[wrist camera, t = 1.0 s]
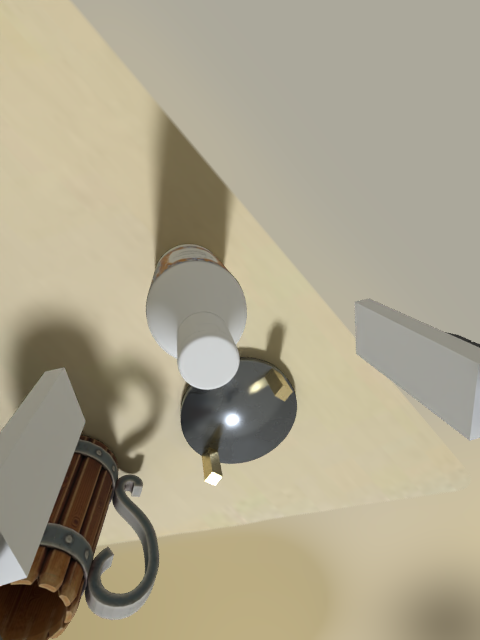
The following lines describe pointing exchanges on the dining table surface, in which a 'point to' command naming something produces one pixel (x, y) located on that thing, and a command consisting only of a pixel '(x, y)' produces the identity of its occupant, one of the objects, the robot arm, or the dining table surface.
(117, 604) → the mug
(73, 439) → the robot arm
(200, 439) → the disc
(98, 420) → the dining table surface
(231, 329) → the bath foam
